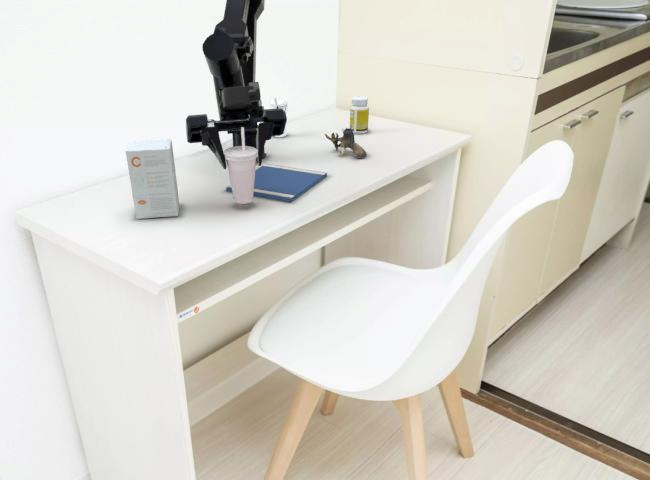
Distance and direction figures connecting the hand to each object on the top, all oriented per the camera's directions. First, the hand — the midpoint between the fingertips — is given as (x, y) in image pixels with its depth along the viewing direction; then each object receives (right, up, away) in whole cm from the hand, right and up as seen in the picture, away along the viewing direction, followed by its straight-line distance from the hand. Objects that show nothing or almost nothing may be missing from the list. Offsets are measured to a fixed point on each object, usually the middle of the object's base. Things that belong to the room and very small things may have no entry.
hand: (242, 166), depth 121 cm
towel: (+7, 0, +16) cm, 17 cm away
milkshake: (+7, +19, +46) cm, 50 cm away
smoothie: (0, -5, +5) cm, 7 cm away
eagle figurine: (+23, +11, +32) cm, 41 cm away
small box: (-17, -8, +4) cm, 19 cm away
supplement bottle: (+28, +21, +48) cm, 59 cm away
